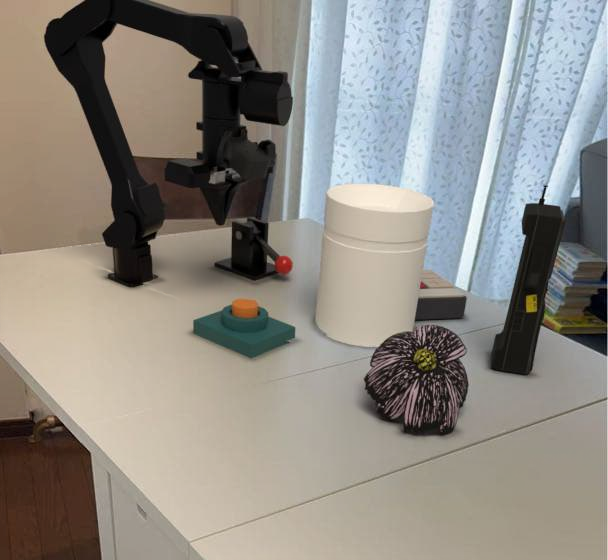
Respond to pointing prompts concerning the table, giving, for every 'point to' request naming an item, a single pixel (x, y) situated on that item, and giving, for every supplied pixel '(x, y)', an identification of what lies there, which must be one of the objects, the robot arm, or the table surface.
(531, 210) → the portable radio
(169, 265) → the table surface
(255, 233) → the switch lever
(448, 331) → the decorative flower
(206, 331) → the button block
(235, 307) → the button
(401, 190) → the canister
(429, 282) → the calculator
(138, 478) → the table surface
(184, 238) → the table surface
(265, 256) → the switch bracket
